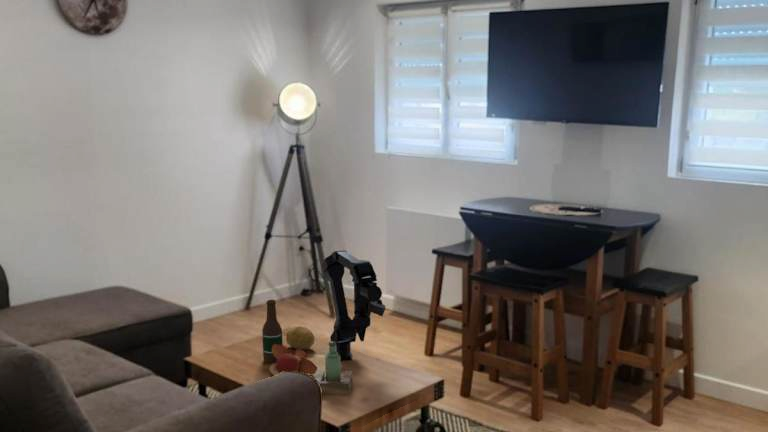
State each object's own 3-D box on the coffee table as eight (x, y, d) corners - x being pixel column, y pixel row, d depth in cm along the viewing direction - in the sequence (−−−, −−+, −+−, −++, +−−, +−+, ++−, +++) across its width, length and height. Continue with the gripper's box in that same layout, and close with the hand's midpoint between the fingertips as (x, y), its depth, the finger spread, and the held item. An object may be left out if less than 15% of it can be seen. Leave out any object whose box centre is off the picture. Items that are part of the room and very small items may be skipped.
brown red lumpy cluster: (273, 359, 272) (255, 363, 257) (283, 338, 271) (265, 342, 257) (316, 383, 266) (300, 389, 251) (326, 362, 265) (310, 367, 251)
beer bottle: (285, 357, 278) (283, 298, 275) (280, 364, 271) (278, 303, 267) (265, 357, 279) (263, 297, 275) (260, 364, 271) (258, 303, 268)
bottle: (330, 380, 251) (329, 339, 248) (343, 382, 248) (342, 341, 246) (323, 385, 246) (322, 343, 244) (336, 387, 244) (335, 345, 242)
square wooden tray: (318, 381, 253) (318, 370, 253) (352, 381, 253) (352, 370, 252) (313, 394, 242) (313, 383, 241) (348, 394, 241) (348, 383, 240)
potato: (299, 320, 295) (281, 323, 289) (320, 328, 286) (302, 332, 280) (297, 342, 296) (279, 346, 290) (318, 351, 287) (301, 355, 281)
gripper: (384, 302, 250) (384, 345, 252) (383, 289, 268) (384, 329, 270) (352, 302, 250) (353, 345, 252) (354, 289, 268) (355, 329, 270)
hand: (362, 337), depth 261 cm, fingers open, 9 cm apart
